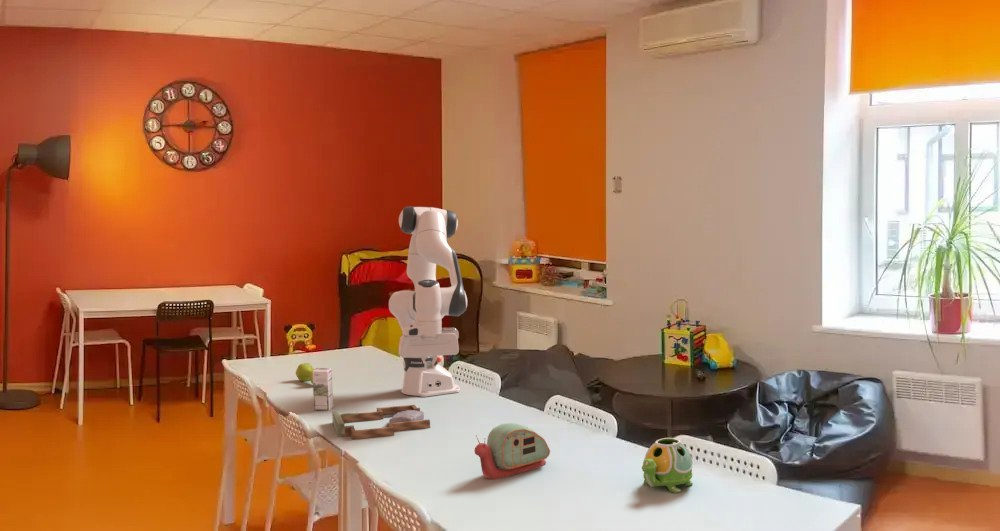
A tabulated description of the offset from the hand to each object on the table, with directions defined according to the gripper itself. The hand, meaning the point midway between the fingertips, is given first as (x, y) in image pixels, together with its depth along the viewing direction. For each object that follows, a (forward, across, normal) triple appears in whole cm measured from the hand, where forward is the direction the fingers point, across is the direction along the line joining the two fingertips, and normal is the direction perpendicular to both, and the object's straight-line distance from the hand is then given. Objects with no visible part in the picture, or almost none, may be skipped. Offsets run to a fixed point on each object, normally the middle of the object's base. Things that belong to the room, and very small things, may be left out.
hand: (429, 368), depth 305 cm
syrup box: (+18, +33, -29) cm, 48 cm away
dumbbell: (+18, +33, -72) cm, 81 cm away
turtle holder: (+18, -45, +85) cm, 98 cm away
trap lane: (+18, +17, 0) cm, 25 cm away
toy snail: (+19, -10, +60) cm, 63 cm away
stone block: (+18, +8, 0) cm, 20 cm away
